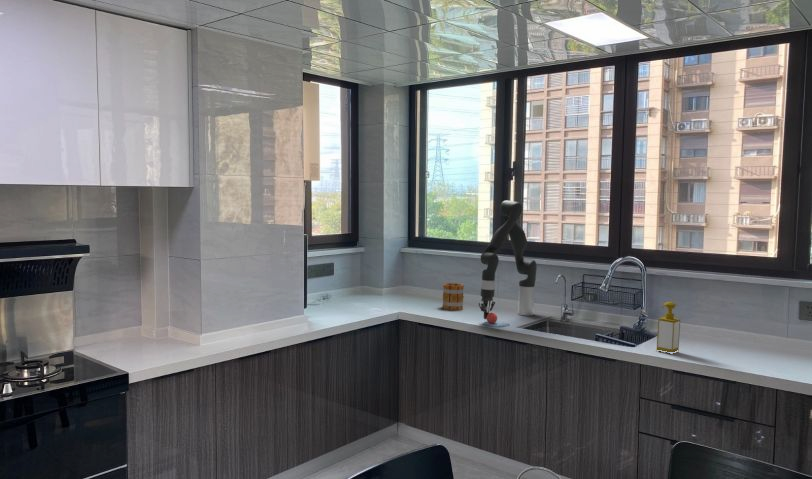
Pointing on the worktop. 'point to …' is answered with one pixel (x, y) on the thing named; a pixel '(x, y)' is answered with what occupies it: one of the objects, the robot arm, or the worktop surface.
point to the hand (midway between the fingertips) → (486, 318)
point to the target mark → (497, 324)
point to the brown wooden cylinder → (452, 296)
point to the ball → (491, 317)
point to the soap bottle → (668, 330)
